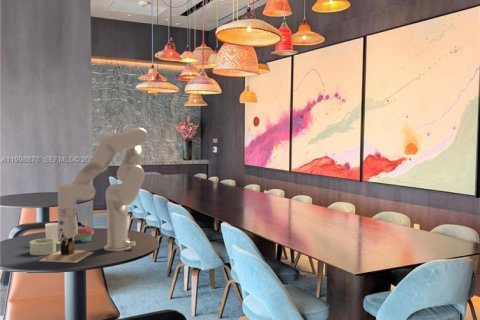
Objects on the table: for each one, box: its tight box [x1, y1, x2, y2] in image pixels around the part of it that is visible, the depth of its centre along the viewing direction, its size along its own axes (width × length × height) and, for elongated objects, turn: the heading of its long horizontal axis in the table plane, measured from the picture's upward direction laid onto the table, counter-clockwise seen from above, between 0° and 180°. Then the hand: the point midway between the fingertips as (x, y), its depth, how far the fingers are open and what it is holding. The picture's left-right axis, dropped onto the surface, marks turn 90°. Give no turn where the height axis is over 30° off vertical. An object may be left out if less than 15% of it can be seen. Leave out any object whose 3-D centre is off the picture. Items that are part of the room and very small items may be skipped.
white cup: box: [44, 222, 60, 245], centre depth 212 cm, size 8×8×10 cm
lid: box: [45, 241, 89, 261], centre depth 187 cm, size 13×13×6 cm
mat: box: [39, 251, 95, 264], centre depth 187 cm, size 17×17×1 cm
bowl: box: [29, 237, 57, 256], centre depth 194 cm, size 11×11×6 cm
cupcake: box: [76, 218, 95, 243], centre depth 219 cm, size 9×8×12 cm
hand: (67, 252), depth 187 cm, fingers closed on lid, 4 cm apart
